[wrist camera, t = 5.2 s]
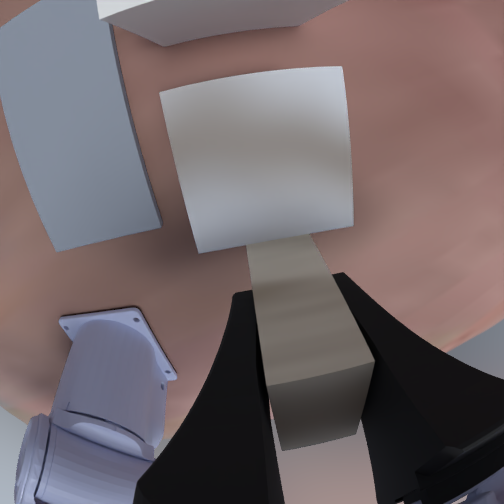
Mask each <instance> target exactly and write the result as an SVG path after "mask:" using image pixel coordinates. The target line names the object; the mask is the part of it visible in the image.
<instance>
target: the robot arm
mask: <svg viewBox="0 0 504 504" xmlns="http://www.w3.org/2000/svg"><path fill="white" fill-rule="evenodd" d="M332 276H333V278H334V280H335V282H336V284H337V286H338V288H339V290H340V291H341V293H342V295H343V297H344V299H345V301H346V303H347V305H348V307H349V309H350V311H351V313H352V315H353V317H354V319H355V321H356V323H357V325H358V327H359V329H360V331H361V333H362V335H363V337H364V339H365V341H366V343H367V345H368V347H369V349H370V351H371V354H372V356H373V358H374V360H375V363H374V368H373V372H372V377H371V381H370V385H369V389H368V393H367V397H366V401H365V405H364V408H363V412H362V415H361V421H362V424H363V428H364V432H365V437H366V441H367V445H368V450H369V455H370V460H371V465H372V471H373V477H374V483H375V490H376V498H377V503H378V504H397V503H400V502H402V501H404V504H451V503H453V502H455V501H457V500H459V499H460V498H462V497H464V496H466V495H467V494H468V495H467V499H466V500H465V501H463V502H461V503H458V504H504V380H503V379H501V378H498V377H495V376H492V375H489V374H487V373H484V372H482V371H480V370H478V369H476V368H473V367H471V366H469V365H467V364H465V363H463V362H461V361H459V360H457V359H456V358H454V357H452V356H450V355H448V354H446V353H445V352H443V351H441V350H439V349H438V348H436V347H434V346H433V345H431V344H430V343H428V342H427V341H425V340H424V339H422V338H421V337H419V336H418V335H416V334H415V333H414V332H412V331H411V330H410V329H408V328H407V327H406V326H404V325H403V324H402V323H401V322H399V321H398V320H397V319H395V318H394V317H393V316H392V315H391V314H389V313H388V312H387V311H386V310H385V309H384V308H382V307H381V306H380V305H379V304H378V303H377V302H375V301H374V300H373V299H372V298H371V297H370V296H369V295H368V294H367V293H365V292H364V291H363V290H362V289H361V288H360V287H359V286H358V285H357V284H356V283H355V282H354V281H352V280H351V279H350V278H349V277H348V276H347V275H346V274H345V273H343V272H342V273H337V274H332ZM137 318H138V319H137ZM59 324H60V325H61V327H62V328H63V330H64V331H65V332H66V334H67V335H68V336H69V338H70V339H71V340H72V342H73V344H72V347H71V349H70V352H69V355H68V358H67V361H66V364H65V367H64V370H63V373H62V376H61V379H60V382H59V385H58V388H57V392H56V395H55V399H54V402H53V406H52V409H51V413H50V414H49V416H46V415H44V414H42V413H40V414H39V415H38V416H34V417H32V418H31V419H30V421H29V424H28V426H27V429H26V432H25V435H24V438H23V442H22V446H21V450H20V454H19V459H18V464H17V470H16V483H15V490H14V500H15V504H285V502H284V496H283V491H282V486H281V480H280V474H279V468H278V463H277V457H276V450H275V444H274V438H273V432H272V426H271V418H270V405H269V395H268V390H267V386H266V379H265V373H264V366H263V359H262V352H261V345H260V339H259V332H258V325H257V318H256V311H255V304H254V297H253V290H249V291H243V292H237V293H235V294H234V295H233V297H232V304H231V309H230V314H229V318H228V322H227V325H226V329H225V332H224V335H223V338H222V341H221V344H220V347H219V350H218V352H217V355H216V358H215V360H214V363H213V365H212V368H211V370H210V372H209V375H208V377H207V379H206V381H205V383H204V385H203V387H202V389H201V391H200V393H199V395H198V397H197V399H196V401H195V402H194V404H193V406H192V408H191V409H190V411H189V413H188V415H187V416H186V418H185V420H184V421H183V423H182V424H181V426H180V427H179V429H178V430H177V432H176V433H175V435H174V436H173V437H172V439H171V440H170V442H169V443H168V445H167V446H166V447H165V449H164V450H163V451H162V453H161V454H160V455H159V456H158V458H157V459H155V458H154V449H155V448H156V447H157V446H158V444H159V443H160V441H161V439H162V437H163V434H164V423H165V408H166V395H167V383H168V381H170V380H176V379H177V374H176V372H175V370H174V369H173V367H172V366H171V364H170V362H169V361H168V359H167V357H166V356H165V354H164V352H163V351H162V349H161V347H160V345H159V344H158V342H157V340H156V339H155V337H154V335H153V333H152V331H151V330H150V328H149V326H148V324H147V322H146V321H145V319H144V317H143V315H142V313H141V311H140V310H139V309H137V308H133V307H132V308H125V309H118V310H111V311H104V312H96V313H88V314H81V315H73V316H65V317H60V319H59Z"/></svg>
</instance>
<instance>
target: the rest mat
mask: <svg viewBox="0 0 504 504" xmlns="http://www.w3.org/2000/svg"><path fill="white" fill-rule="evenodd" d="M0 96H1V101H2V105H3V110H4V114H5V118H6V122H7V125H8V129H9V133H10V136H11V139H12V143H13V146H14V149H15V152H16V156H17V159H18V162H19V164H20V167H21V170H22V173H23V176H24V179H25V181H26V184H27V187H28V189H29V192H30V194H31V197H32V199H33V202H34V204H35V206H36V209H37V211H38V213H39V216H40V218H41V220H42V222H43V225H44V227H45V229H46V231H47V233H48V235H49V238H50V240H51V242H52V244H53V246H54V248H55V250H56V252H60V251H64V250H68V249H72V248H76V247H80V246H84V245H88V244H92V243H96V242H100V241H105V240H109V239H113V238H117V237H122V236H126V235H130V234H135V233H139V232H144V231H148V230H153V229H157V228H161V227H162V224H163V221H162V218H161V215H160V212H159V209H158V206H157V203H156V200H155V197H154V193H153V190H152V187H151V184H150V180H149V177H148V174H147V170H146V167H145V163H144V160H143V156H142V153H141V149H140V146H139V142H138V138H137V134H136V131H135V127H134V123H133V119H132V115H131V111H130V107H129V103H128V99H127V95H126V90H125V86H124V82H123V77H122V72H121V68H120V63H119V58H118V53H117V48H116V43H115V38H114V32H113V26H112V24H110V23H107V22H104V21H102V20H99V14H98V8H97V1H96V0H41V1H39V2H38V3H36V4H34V5H33V6H31V7H30V8H28V9H27V10H25V11H23V12H22V13H20V14H19V15H17V16H16V17H14V18H13V19H12V20H10V21H9V22H7V23H6V24H5V25H3V26H2V27H1V28H0Z"/></svg>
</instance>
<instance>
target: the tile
mask: <svg viewBox="0 0 504 504" xmlns="http://www.w3.org/2000/svg"><path fill="white" fill-rule="evenodd" d="M96 1H97V8H98V14H99V20H102V21H104V22H107V23H110V24H112V25H115V26H117V27H120V28H122V29H125V30H127V31H130V32H132V33H134V34H137V35H139V36H141V37H144V38H146V39H148V40H150V41H152V42H155V43H157V44H159V45H161V46H163V47H166V46H170V45H174V44H178V43H182V42H186V41H191V40H195V39H200V38H205V37H210V36H215V35H221V34H227V33H233V32H240V31H247V30H256V29H265V28H276V27H291V26H300V25H302V24H304V23H305V22H307V21H309V20H311V19H313V18H315V17H316V16H318V15H320V14H322V13H324V12H326V11H328V10H330V9H332V8H334V7H336V6H338V5H340V4H342V3H344V2H346V1H349V0H96Z"/></svg>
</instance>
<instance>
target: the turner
mask: <svg viewBox="0 0 504 504" xmlns="http://www.w3.org/2000/svg"><path fill="white" fill-rule="evenodd" d="M159 93H160V98H161V103H162V108H163V113H164V117H165V122H166V126H167V131H168V135H169V140H170V144H171V148H172V153H173V157H174V161H175V165H176V169H177V174H178V178H179V182H180V186H181V190H182V194H183V197H184V201H185V205H186V209H187V213H188V217H189V220H190V224H191V228H192V231H193V235H194V239H195V242H196V246H197V250H198V253H199V254H200V253H205V252H211V251H216V250H222V249H227V248H233V247H238V246H244V245H246V249H247V256H248V263H249V269H250V276H251V283H252V290H253V297H254V304H255V311H256V318H257V325H258V332H259V339H260V345H261V352H262V359H263V366H264V373H265V379H266V386H267V390H268V395H269V399H270V403H271V408H272V412H273V416H274V420H275V424H276V429H277V433H278V437H279V441H280V445H281V449H282V451H285V450H291V449H296V448H301V447H306V446H311V445H316V444H320V443H324V442H328V441H332V440H336V439H340V438H343V437H348V436H351V435H355V434H356V432H357V429H358V425H359V422H360V419H361V415H362V412H363V408H364V405H365V401H366V397H367V393H368V389H369V385H370V381H371V377H372V372H373V368H374V363H375V360H374V358H373V356H372V354H371V351H370V349H369V347H368V345H367V343H366V341H365V339H364V337H363V335H362V333H361V331H360V329H359V327H358V325H357V323H356V321H355V319H354V317H353V315H352V313H351V311H350V309H349V307H348V305H347V303H346V301H345V299H344V297H343V295H342V293H341V291H340V290H339V288H338V286H337V284H336V282H335V280H334V278H333V276H332V274H331V273H330V271H329V269H328V267H327V265H326V263H325V261H324V260H323V258H322V256H321V254H320V252H319V250H318V249H317V247H316V245H315V243H314V241H313V240H312V238H311V236H310V233H316V232H322V231H327V230H333V229H339V228H345V227H350V226H353V182H352V161H351V146H350V133H349V121H348V111H347V101H346V93H345V85H344V77H343V70H342V66H335V67H311V68H296V69H285V70H275V71H266V72H258V73H251V74H244V75H237V76H231V77H226V78H220V79H215V80H210V81H205V82H200V83H195V84H191V85H186V86H182V87H178V88H174V89H170V90H166V91H163V92H159Z"/></svg>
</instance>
